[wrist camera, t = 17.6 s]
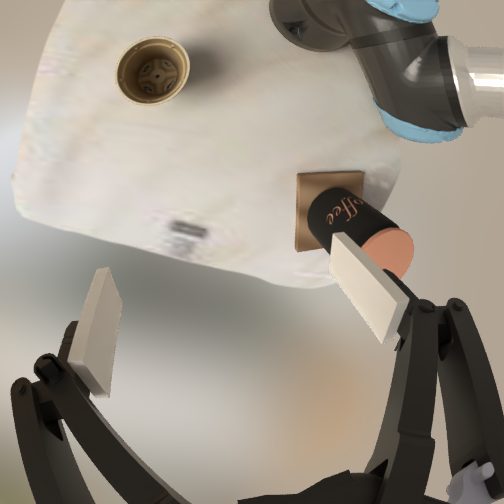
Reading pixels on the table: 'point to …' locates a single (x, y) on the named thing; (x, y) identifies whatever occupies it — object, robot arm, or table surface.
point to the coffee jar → (360, 229)
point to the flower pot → (152, 70)
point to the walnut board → (310, 189)
